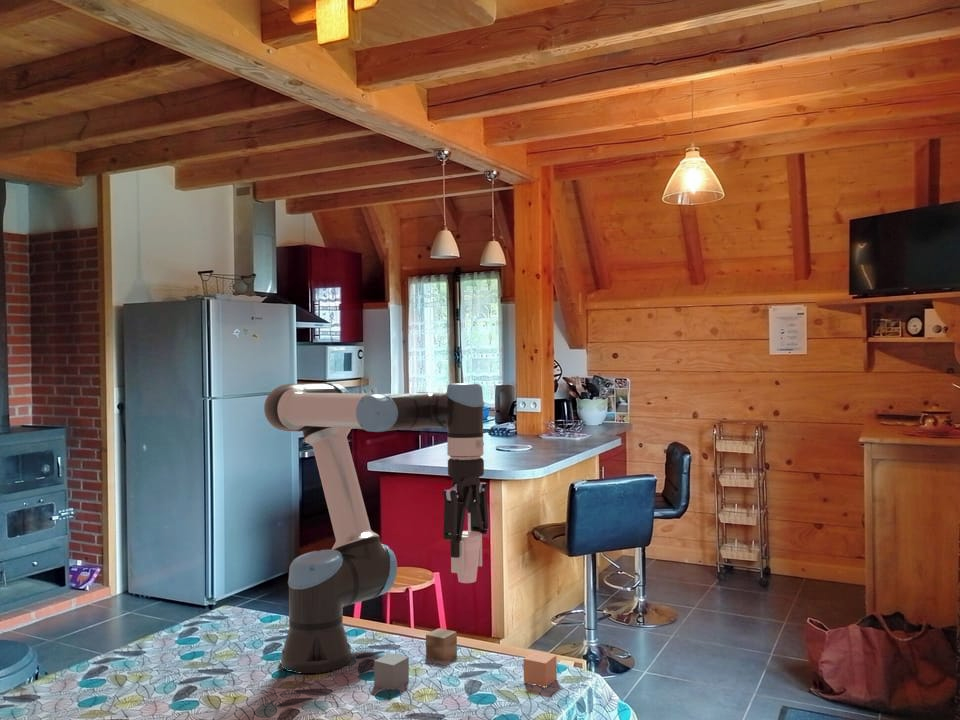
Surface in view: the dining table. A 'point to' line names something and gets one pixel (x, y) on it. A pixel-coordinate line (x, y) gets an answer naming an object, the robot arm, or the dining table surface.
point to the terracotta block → (540, 668)
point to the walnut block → (441, 644)
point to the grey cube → (391, 671)
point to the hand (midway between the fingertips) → (467, 568)
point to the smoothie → (470, 554)
